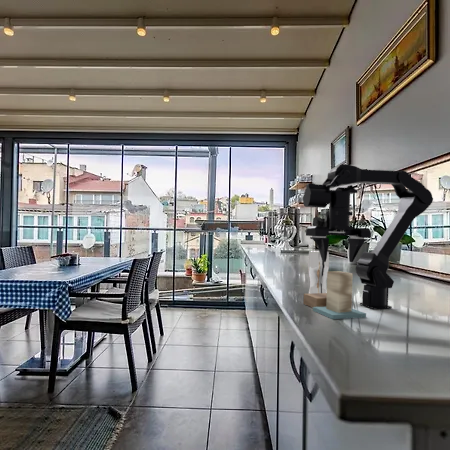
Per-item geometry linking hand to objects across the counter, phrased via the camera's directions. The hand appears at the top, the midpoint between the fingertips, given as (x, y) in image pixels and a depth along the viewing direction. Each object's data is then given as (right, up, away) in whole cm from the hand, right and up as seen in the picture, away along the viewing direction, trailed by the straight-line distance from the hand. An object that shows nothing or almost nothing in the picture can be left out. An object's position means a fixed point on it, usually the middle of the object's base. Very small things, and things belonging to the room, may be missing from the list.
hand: (337, 261), depth 101 cm
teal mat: (-3, -13, -9) cm, 16 cm away
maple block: (-3, -12, -9) cm, 15 cm away
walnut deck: (-5, -13, 0) cm, 14 cm away
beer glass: (-1, -14, +18) cm, 23 cm away
